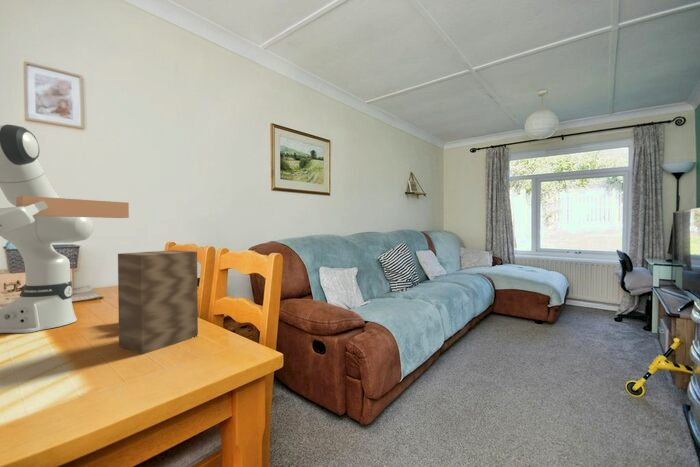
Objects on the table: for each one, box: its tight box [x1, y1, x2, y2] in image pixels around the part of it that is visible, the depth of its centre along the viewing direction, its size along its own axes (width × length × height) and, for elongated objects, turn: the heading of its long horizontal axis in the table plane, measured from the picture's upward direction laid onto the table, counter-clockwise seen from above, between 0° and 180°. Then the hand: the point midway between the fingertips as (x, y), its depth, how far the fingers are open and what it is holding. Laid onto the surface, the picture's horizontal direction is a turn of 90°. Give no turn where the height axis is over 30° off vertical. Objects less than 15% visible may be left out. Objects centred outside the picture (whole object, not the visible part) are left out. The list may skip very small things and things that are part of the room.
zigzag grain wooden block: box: [117, 249, 199, 355], centre depth 92 cm, size 16×12×26 cm
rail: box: [15, 196, 130, 219], centre depth 76 cm, size 20×4×4 cm, turn 150°
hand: (40, 204), depth 70 cm, fingers closed on rail, 4 cm apart
